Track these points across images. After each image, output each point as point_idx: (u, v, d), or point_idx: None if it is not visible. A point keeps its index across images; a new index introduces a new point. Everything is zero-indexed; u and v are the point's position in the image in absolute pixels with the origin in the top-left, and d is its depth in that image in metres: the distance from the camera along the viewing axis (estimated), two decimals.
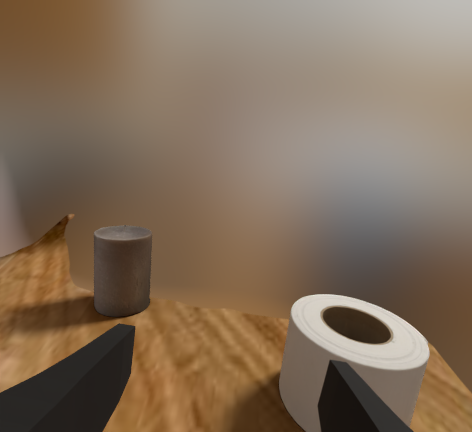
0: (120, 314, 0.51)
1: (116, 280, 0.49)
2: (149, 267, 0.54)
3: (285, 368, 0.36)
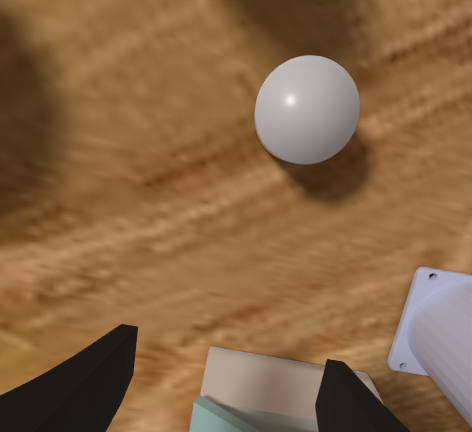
0: None
1: None
2: None
3: None
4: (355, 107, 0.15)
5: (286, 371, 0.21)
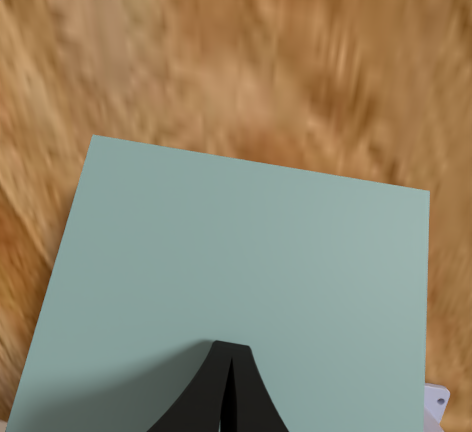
0: None
1: None
2: None
3: None
4: None
5: None
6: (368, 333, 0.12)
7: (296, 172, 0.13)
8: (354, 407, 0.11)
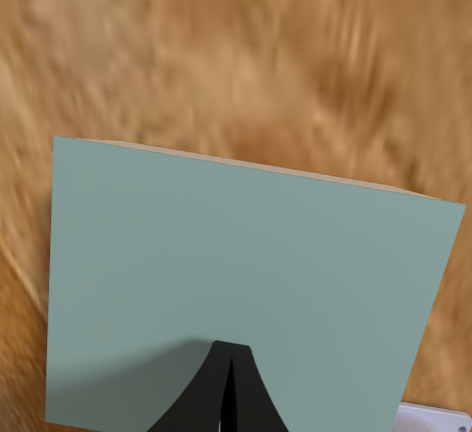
0: None
1: None
2: None
3: None
4: None
5: None
6: (360, 347, 0.12)
7: (302, 183, 0.11)
8: (336, 401, 0.12)
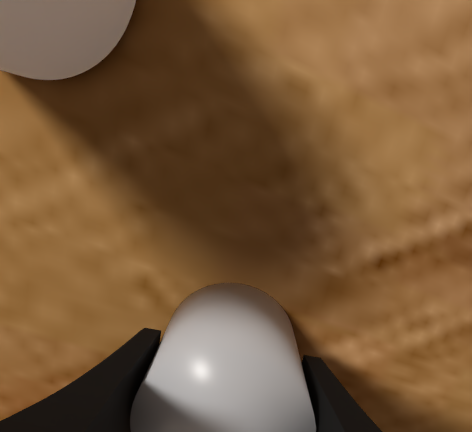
0: None
1: None
2: None
3: None
4: (307, 429, 0.08)
5: None
6: None
7: None
8: None
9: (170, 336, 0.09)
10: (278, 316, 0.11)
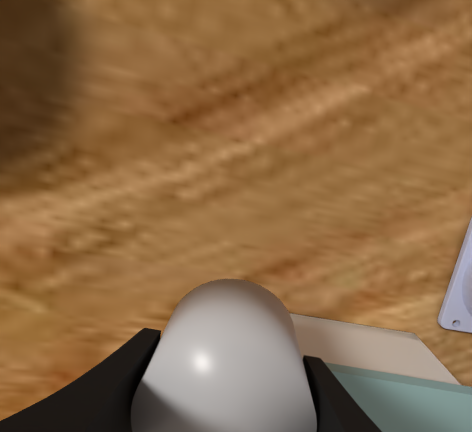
0: None
1: None
2: None
3: None
4: (308, 426, 0.08)
5: (327, 330, 0.19)
6: None
7: None
8: (402, 427, 0.15)
9: (173, 329, 0.09)
10: (281, 314, 0.11)
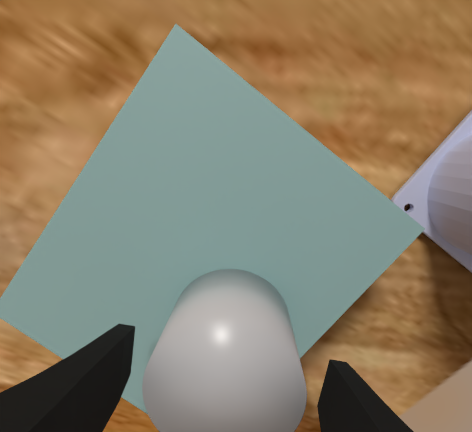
0: None
1: None
2: None
3: None
4: (299, 395, 0.09)
5: None
6: (271, 178, 0.12)
7: (96, 156, 0.12)
8: (316, 225, 0.12)
9: (179, 312, 0.10)
10: (276, 300, 0.12)
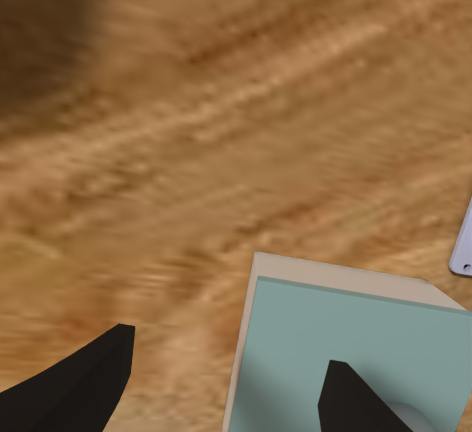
0: None
1: None
2: None
3: None
4: None
5: (341, 272, 0.19)
6: (367, 338, 0.16)
7: (242, 377, 0.16)
8: (416, 352, 0.16)
9: None
10: (418, 422, 0.15)
